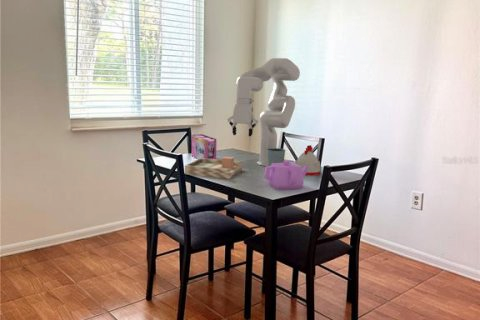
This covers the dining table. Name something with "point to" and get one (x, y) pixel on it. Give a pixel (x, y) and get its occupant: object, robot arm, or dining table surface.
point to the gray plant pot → (275, 155)
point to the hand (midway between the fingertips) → (242, 135)
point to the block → (228, 162)
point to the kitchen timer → (309, 161)
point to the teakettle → (285, 175)
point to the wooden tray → (212, 168)
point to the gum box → (203, 147)
